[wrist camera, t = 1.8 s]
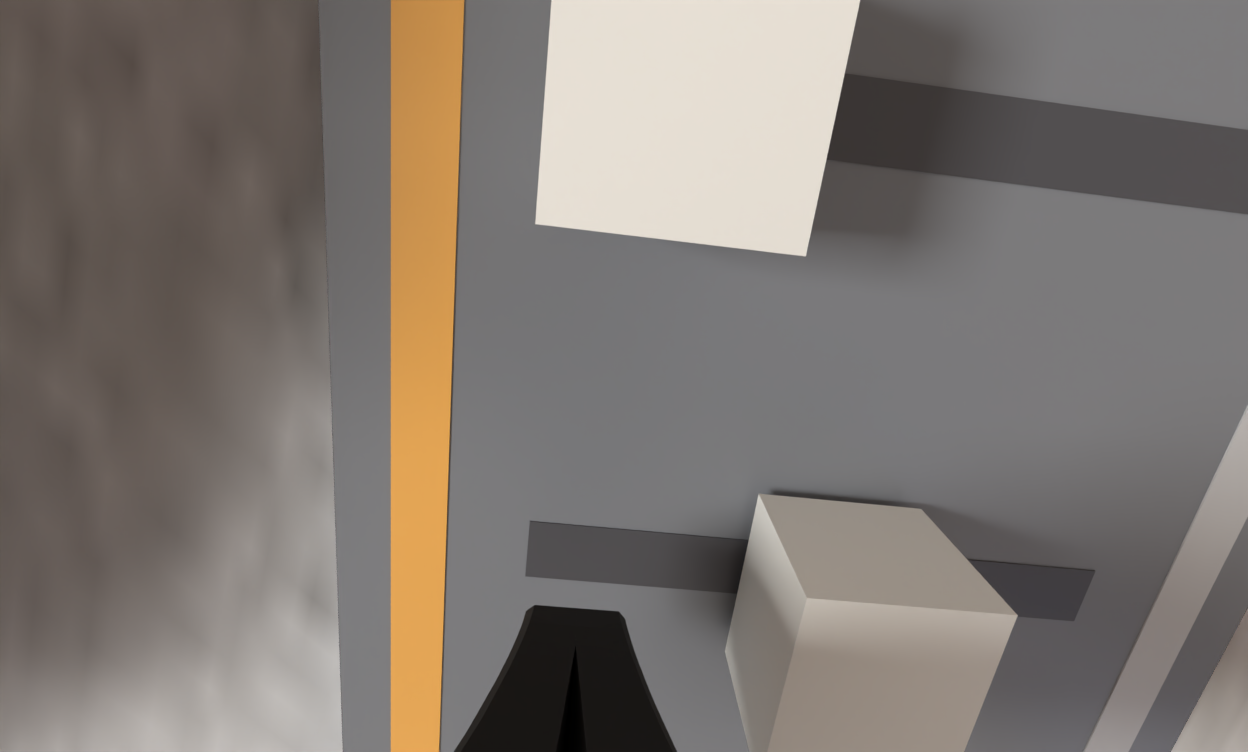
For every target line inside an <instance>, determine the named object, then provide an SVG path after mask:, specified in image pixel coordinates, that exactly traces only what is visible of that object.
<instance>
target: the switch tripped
mask: <svg viewBox="0 0 1248 752" xmlns="http://www.w3.org/2000/svg"><path fill="white" fill-rule="evenodd" d="M1017 616H1018V615H1017V614H1016V613H1015V612H1014V611H1013V610H1012V608H1011V607H1010V606H1009V605H1008V604H1007V603H1006V602H1005V601H1004V600H1003V599H1002V597H1001V596H1000V595H999V594H998V593H997V592H996V591H995V590H994V589H993V588H992V586H991V585H990V584H989V583H988V582H987V581H986V580H985V579H984V578H983V577H982V575H981V574H980V573H979V572H978V571H977V570H976V569H975V568H974V567H973V565H972V564H971V563H970V562H969V561H968V560H967V559H966V558H965V557H964V556H963V554H962V553H961V552H960V551H959V550H958V549H957V548H956V547H955V546H954V545H953V543H952V542H951V541H950V540H949V539H948V538H947V537H946V536H945V535H944V533H943V532H942V531H941V530H940V529H939V528H938V527H937V526H936V525H935V524H934V522H933V521H932V520H931V519H930V518H929V517H928V516H927V515H926V514H925V513H924V511H923V510H922V509H918V508H907V507H896V506H886V505H875V504H864V503H853V502H843V501H832V500H821V499H810V498H800V497H789V496H778V495H767V494H759V495H758V499H757V504H756V508H755V513H754V518H753V522H752V527H751V532H750V536H749V541H748V546H747V550H746V555H745V560H744V564H743V569H742V574H741V578H740V583H739V588H738V592H737V597H736V602H735V606H734V611H733V616H732V620H731V625H730V630H729V634H728V639H727V644H726V648H725V654H726V658H727V662H728V666H729V670H730V674H731V678H732V682H733V686H734V691H735V695H736V699H737V703H738V707H739V711H740V715H741V719H742V723H743V727H744V731H745V735H746V739H747V744H748V748H749V752H964V751H965V748H966V746H967V743H968V740H969V738H970V735H971V733H972V730H973V728H974V725H975V723H976V720H977V718H978V715H979V713H980V710H981V707H982V705H983V702H984V700H985V697H986V695H987V692H988V690H989V687H990V685H991V682H992V680H993V677H994V674H995V672H996V669H997V667H998V664H999V662H1000V659H1001V657H1002V654H1003V652H1004V649H1005V646H1006V644H1007V641H1008V639H1009V636H1010V634H1011V631H1012V629H1013V626H1014V624H1015V621H1016V619H1017Z"/></svg>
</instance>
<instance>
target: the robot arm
mask: <svg viewBox="0 0 1248 752" xmlns="http://www.w3.org/2000/svg"><path fill="white" fill-rule="evenodd" d="M454 752H677V750H676V748H675V746H674V744H673V742H672V739H671V737H670V735H669V733H668V731H667V729H666V726H665V724H664V722H663V720H662V718H661V716H660V713H659V711H658V709H657V707H656V704H655V702H654V700H653V697H652V695H651V693H650V690H649V688H648V685H647V683H646V680H645V678H644V675H643V673H642V670H641V667H640V665H639V662H638V659H637V657H636V654H635V651H634V648H633V645H632V642H631V639H630V635H629V632H628V628H627V625H626V620H625V618H624V617H623V616H622V615H621V613H620V612H619V611H608V610H595V609H582V608H569V607H555V606H542V605H534V606H532V607H531V608H529V609H528V610H527V611H526V613H525V616H524V619H523V623H522V625H521V628H520V631H519V633H518V636H517V638H516V640H515V643H514V645H513V647H512V649H511V651H510V654H509V656H508V658H507V660H506V662H505V664H504V666H503V668H502V670H501V672H500V674H499V675H498V677H497V679H496V681H495V683H494V685H493V686H492V688H491V690H490V692H489V694H488V695H487V697H486V699H485V701H484V702H483V704H482V706H481V708H480V709H479V711H478V713H477V715H476V716H475V718H474V720H473V722H472V723H471V725H470V727H469V728H468V730H467V732H466V733H465V735H464V737H463V738H462V740H461V741H460V743H459V744H458V746H457V747H456V749H455V750H454Z"/></svg>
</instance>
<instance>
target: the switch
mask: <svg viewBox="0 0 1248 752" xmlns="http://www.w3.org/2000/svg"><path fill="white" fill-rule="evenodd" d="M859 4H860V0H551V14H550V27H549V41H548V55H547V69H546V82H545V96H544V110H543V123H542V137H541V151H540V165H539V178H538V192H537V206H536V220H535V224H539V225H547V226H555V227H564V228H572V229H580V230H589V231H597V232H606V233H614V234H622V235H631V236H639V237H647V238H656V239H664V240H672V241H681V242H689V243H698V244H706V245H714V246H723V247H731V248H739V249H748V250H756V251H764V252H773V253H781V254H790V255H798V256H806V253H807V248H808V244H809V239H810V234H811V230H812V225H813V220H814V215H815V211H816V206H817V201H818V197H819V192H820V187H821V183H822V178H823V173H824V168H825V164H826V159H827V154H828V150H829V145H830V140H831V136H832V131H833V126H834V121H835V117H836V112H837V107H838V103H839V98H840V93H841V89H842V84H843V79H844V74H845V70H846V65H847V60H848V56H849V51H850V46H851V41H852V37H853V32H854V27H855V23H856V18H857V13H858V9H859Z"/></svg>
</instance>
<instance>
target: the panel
mask: <svg viewBox="0 0 1248 752" xmlns="http://www.w3.org/2000/svg"><path fill="white" fill-rule="evenodd" d="M318 6H319V37H320V67H321V98H322V129H323V159H324V190H325V220H326V251H327V282H328V312H329V343H330V374H331V404H332V435H333V465H334V496H335V527H336V557H337V588H338V619H339V649H340V680H341V710H342V741H343V752H454V750H455V749H456V747H457V746H458V744H459V743H460V741H461V740H462V738H463V737H464V735H465V733H466V732H467V730H468V728H469V727H470V725H471V723H472V722H473V720H474V718H475V716H476V715H477V713H478V711H479V709H480V708H481V706H482V704H483V702H484V701H485V699H486V697H487V695H488V694H489V692H490V690H491V688H492V686H493V685H494V683H495V681H496V679H497V677H498V675H499V674H500V672H501V670H502V668H503V666H504V664H505V662H506V660H507V658H508V656H509V654H510V651H511V649H512V647H513V645H514V643H515V640H516V638H517V636H518V633H519V631H520V628H521V625H522V623H523V619H524V616H525V613H526V611H527V610H528V609H529V608H531V607H532V606H534V605H542V606H555V607H569V608H582V609H595V610H608V611H619V612H620V613H621V615H622V616H623V617H624V618H625V620H626V625H627V628H628V632H629V635H630V639H631V642H632V645H633V648H634V651H635V654H636V657H637V659H638V662H639V665H640V667H641V670H642V673H643V675H644V678H645V680H646V683H647V685H648V688H649V690H650V693H651V695H652V697H653V700H654V702H655V704H656V707H657V709H658V711H659V713H660V716H661V718H662V720H663V722H664V724H665V726H666V729H667V731H668V733H669V735H670V737H671V739H672V742H673V744H674V746H675V748H676V750H677V752H749V748H748V744H747V739H746V735H745V731H744V727H743V723H742V719H741V715H740V711H739V707H738V703H737V699H736V695H735V691H734V686H733V682H732V678H731V674H730V670H729V666H728V662H727V658H726V654H725V648H726V644H727V639H728V634H729V630H730V625H731V620H732V616H733V611H734V606H735V602H736V597H737V592H738V588H739V583H740V578H741V574H742V569H743V564H744V560H745V555H746V550H747V546H748V541H749V536H750V532H751V527H752V522H753V518H754V513H755V508H756V504H757V499H758V495H759V494H767V495H778V496H789V497H800V498H810V499H821V500H832V501H843V502H853V503H864V504H875V505H886V506H896V507H907V508H918V509H922V510H923V511H924V513H925V514H926V515H927V516H928V517H929V518H930V519H931V520H932V521H933V522H934V524H935V525H936V526H937V527H938V528H939V529H940V530H941V531H942V532H943V533H944V535H945V536H946V537H947V538H948V539H949V540H950V541H951V542H952V543H953V545H954V546H955V547H956V548H957V549H958V550H959V551H960V552H961V553H962V554H963V556H964V557H965V558H966V559H967V560H968V561H969V562H970V563H971V564H972V565H973V567H974V568H975V569H976V570H977V571H978V572H979V573H980V574H981V575H982V577H983V578H984V579H985V580H986V581H987V582H988V583H989V584H990V585H991V586H992V588H993V589H994V590H995V591H996V592H997V593H998V594H999V595H1000V596H1001V597H1002V599H1003V600H1004V601H1005V602H1006V603H1007V604H1008V605H1009V606H1010V607H1011V608H1012V610H1013V611H1014V612H1015V613H1016V614H1017V615H1018V616H1017V619H1016V621H1015V624H1014V626H1013V629H1012V631H1011V634H1010V636H1009V639H1008V641H1007V644H1006V646H1005V649H1004V652H1003V654H1002V657H1001V659H1000V662H999V664H998V667H997V669H996V672H995V674H994V677H993V680H992V682H991V685H990V687H989V690H988V692H987V695H986V697H985V700H984V702H983V705H982V707H981V710H980V713H979V715H978V718H977V720H976V723H975V725H974V728H973V730H972V733H971V735H970V738H969V740H968V743H967V746H966V748H965V751H964V752H1171V750H1172V748H1173V747H1174V745H1175V743H1176V741H1177V739H1178V737H1179V735H1180V733H1181V732H1182V730H1183V728H1184V726H1185V724H1186V722H1187V720H1188V719H1189V717H1190V715H1191V713H1192V711H1193V709H1194V707H1195V705H1196V704H1197V702H1198V700H1199V698H1200V696H1201V694H1202V692H1203V690H1204V689H1205V687H1206V685H1207V683H1208V681H1209V679H1210V677H1211V676H1212V674H1213V672H1214V670H1215V668H1216V666H1217V664H1218V662H1219V661H1220V659H1221V657H1222V655H1223V653H1224V651H1225V649H1226V648H1227V646H1228V644H1229V642H1230V640H1231V638H1232V636H1233V634H1234V633H1235V631H1236V629H1237V627H1238V625H1239V623H1240V621H1241V620H1242V618H1243V616H1244V614H1245V612H1246V610H1247V608H1248V0H860V4H859V9H858V13H857V18H856V23H855V27H854V32H853V37H852V41H851V46H850V51H849V56H848V60H847V65H846V70H845V74H844V79H843V84H842V89H841V93H840V98H839V103H838V107H837V112H836V117H835V121H834V126H833V131H832V136H831V140H830V145H829V150H828V154H827V159H826V164H825V168H824V173H823V178H822V183H821V187H820V192H819V197H818V201H817V206H816V211H815V215H814V220H813V225H812V230H811V234H810V239H809V244H808V248H807V253H806V256H798V255H790V254H781V253H773V252H764V251H756V250H748V249H739V248H731V247H723V246H714V245H706V244H698V243H689V242H681V241H672V240H664V239H656V238H647V237H639V236H631V235H622V234H614V233H606V232H597V231H589V230H580V229H572V228H564V227H555V226H547V225H539V224H535V220H536V206H537V192H538V178H539V165H540V151H541V137H542V123H543V110H544V96H545V82H546V69H547V55H548V41H549V27H550V14H551V0H318Z"/></svg>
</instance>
